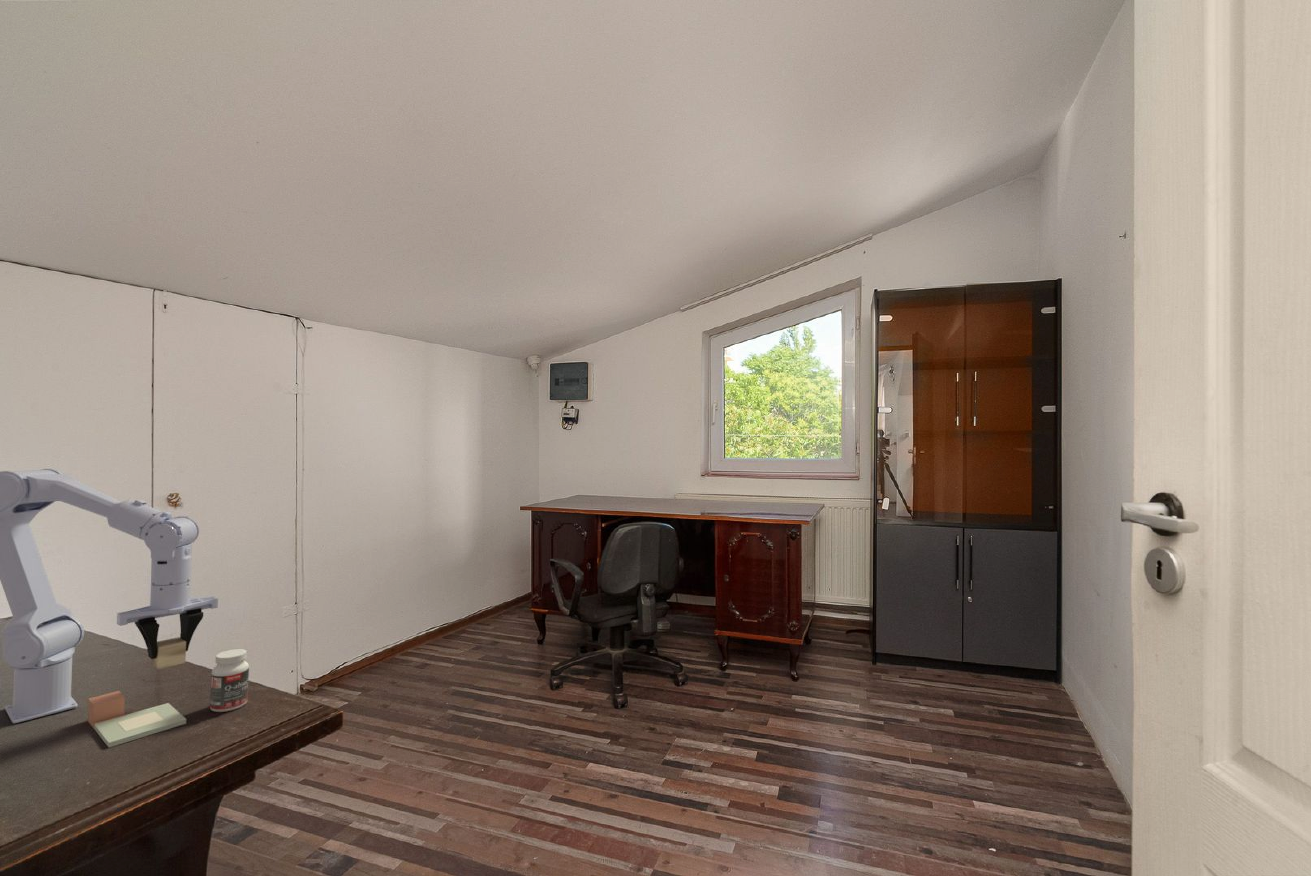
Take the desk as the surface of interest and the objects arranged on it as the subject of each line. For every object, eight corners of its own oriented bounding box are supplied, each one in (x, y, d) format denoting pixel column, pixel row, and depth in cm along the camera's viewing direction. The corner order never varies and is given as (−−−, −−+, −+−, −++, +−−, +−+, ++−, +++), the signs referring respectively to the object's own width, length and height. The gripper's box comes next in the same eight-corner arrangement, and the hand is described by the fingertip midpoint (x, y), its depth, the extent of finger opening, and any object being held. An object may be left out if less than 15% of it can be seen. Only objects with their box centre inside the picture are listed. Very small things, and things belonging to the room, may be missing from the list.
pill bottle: (227, 714, 103) (229, 660, 103) (201, 711, 104) (203, 657, 104) (255, 701, 109) (257, 649, 109) (230, 697, 110) (232, 646, 110)
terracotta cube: (87, 721, 100) (88, 698, 100) (118, 712, 103) (118, 690, 103) (93, 728, 97) (93, 705, 97) (124, 719, 101) (124, 696, 101)
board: (93, 728, 97) (93, 723, 97) (168, 707, 105) (168, 702, 105) (108, 747, 91) (108, 742, 91) (186, 723, 99) (186, 718, 99)
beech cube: (151, 663, 106) (152, 642, 106) (178, 657, 109) (178, 636, 109) (158, 669, 104) (158, 647, 104) (185, 662, 107) (186, 641, 107)
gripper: (125, 593, 99) (123, 671, 98) (224, 578, 111) (222, 647, 110) (114, 586, 103) (111, 661, 102) (211, 572, 115) (209, 639, 114)
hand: (168, 653), depth 107 cm, fingers closed on beech cube, 4 cm apart
